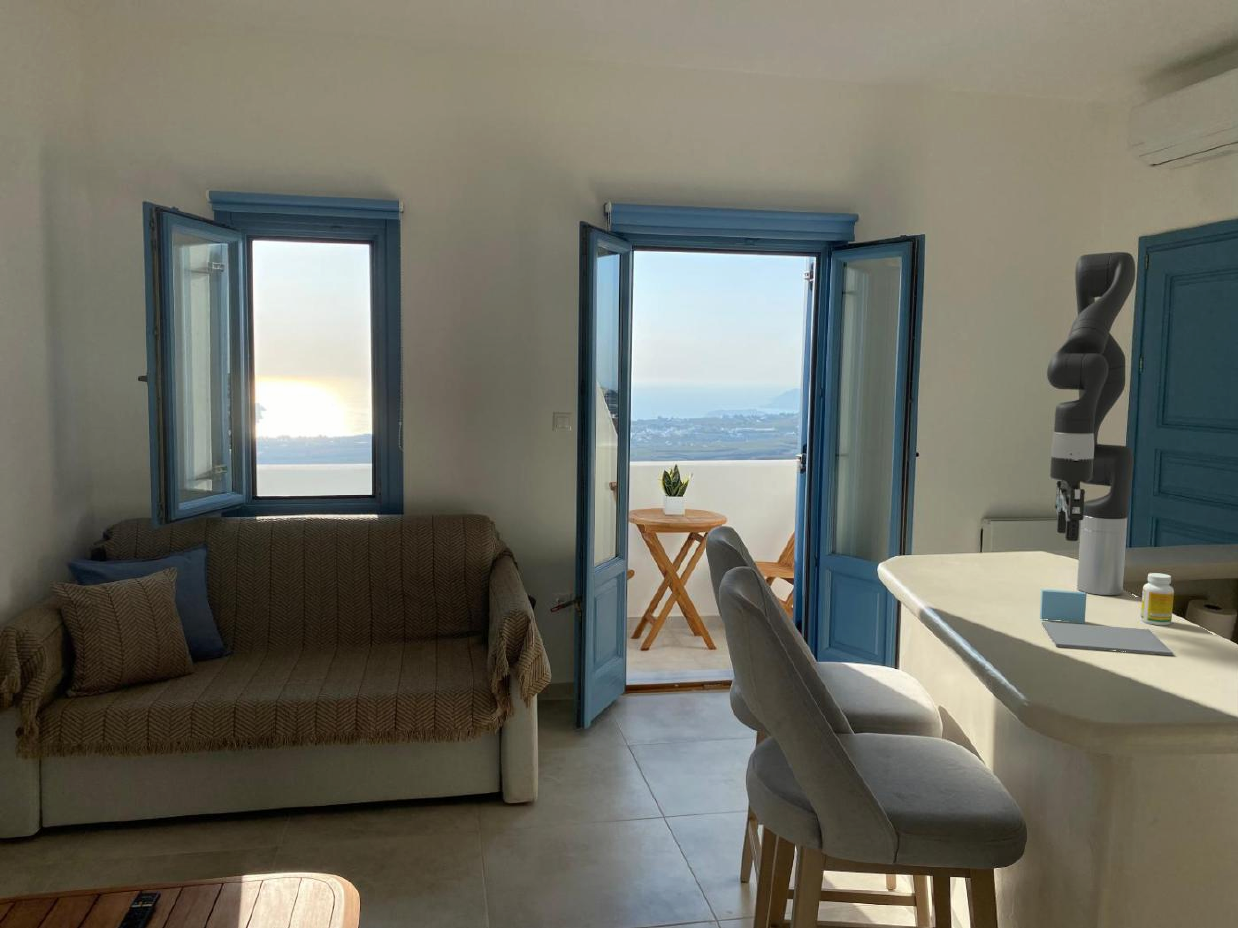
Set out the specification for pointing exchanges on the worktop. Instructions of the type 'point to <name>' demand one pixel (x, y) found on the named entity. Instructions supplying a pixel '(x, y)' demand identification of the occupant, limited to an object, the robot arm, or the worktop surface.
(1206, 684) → the worktop surface
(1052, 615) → the block
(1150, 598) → the supplement bottle
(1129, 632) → the mat
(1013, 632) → the worktop surface
